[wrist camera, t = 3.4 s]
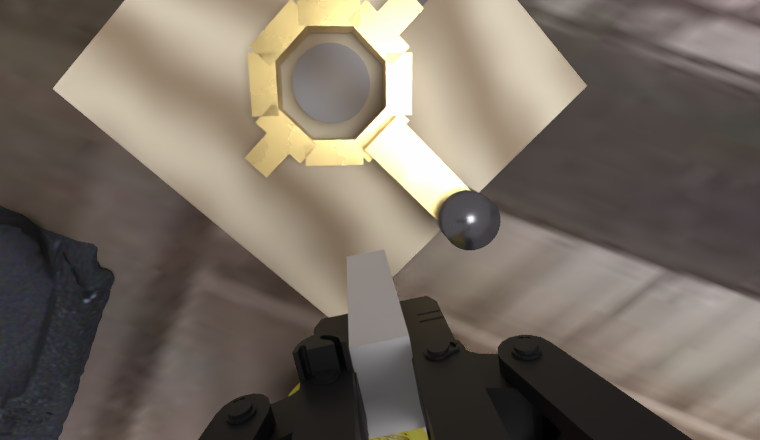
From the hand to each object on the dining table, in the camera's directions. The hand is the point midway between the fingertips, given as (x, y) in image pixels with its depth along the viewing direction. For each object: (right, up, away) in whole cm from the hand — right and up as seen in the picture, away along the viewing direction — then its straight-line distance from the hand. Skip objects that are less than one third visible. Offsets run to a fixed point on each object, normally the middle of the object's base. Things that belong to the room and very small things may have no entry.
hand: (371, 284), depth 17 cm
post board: (-3, +11, +10) cm, 15 cm away
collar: (0, +8, +9) cm, 12 cm away
